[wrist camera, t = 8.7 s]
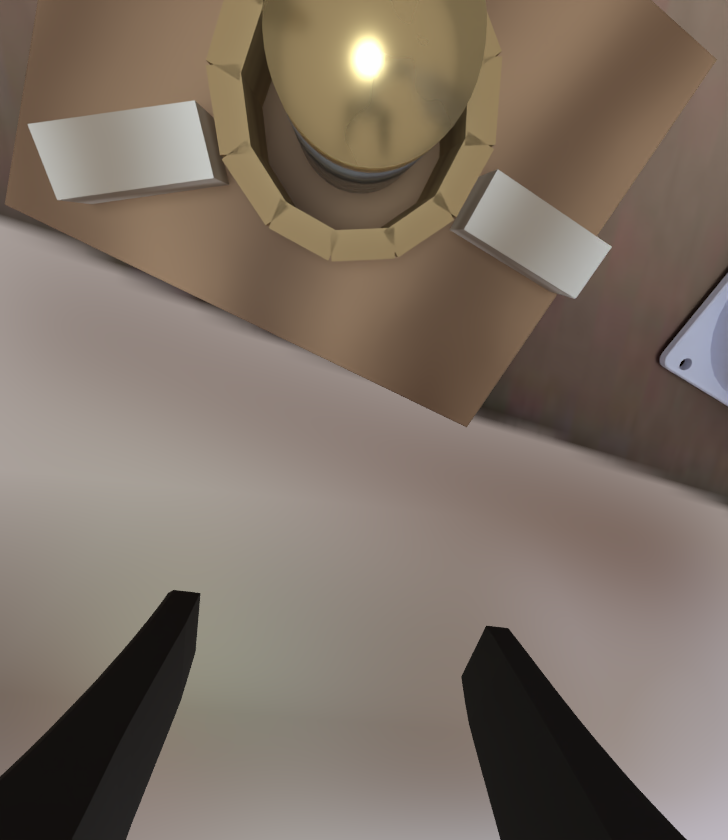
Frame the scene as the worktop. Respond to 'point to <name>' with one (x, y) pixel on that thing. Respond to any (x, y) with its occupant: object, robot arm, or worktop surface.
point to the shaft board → (339, 210)
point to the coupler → (372, 80)
